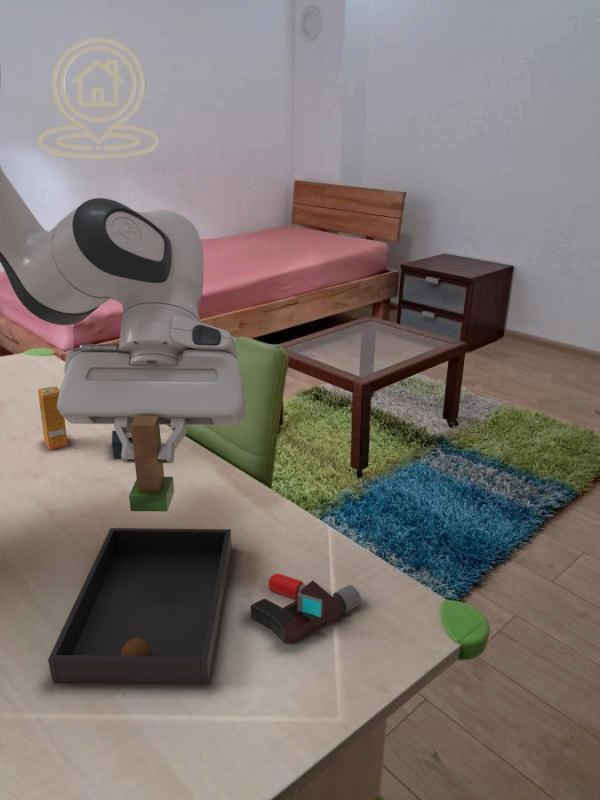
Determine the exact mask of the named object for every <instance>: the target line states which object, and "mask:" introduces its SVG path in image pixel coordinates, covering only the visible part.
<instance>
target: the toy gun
mask: <svg viewBox="0 0 600 800" xmlns="http://www.w3.org/2000/svg"><path fill="white" fill-rule="evenodd" d="M268 587H269V589H270V590H271V591H273V592H275V593H278V594H281V595H284V596H287V597H289V598H292V599H295V600H294V601H292V602H290V603H289V604H287V605H285V606H283V607H282V606H280V605H277V604H276V603H274V602H272V601H270V600H269V599H267V598H262V599H260V600H258V601H256V602H254V603H253V604H251V605H250V618H251V619H252V620H253V621H256V622H257V623H259V624H260V625H262V626H264V627H266V628H267V629H270V630H271V631H272V632H273V634H275V635H276V636H277V637H278V638H279V639H280V641H282V642H283V644H288V645H295V644H296V643H298V642H299V641H301V640H303V639H304V638H306V637H308V636H310V635H311V634H313V633H315V632H316V631H318V630H320V629H322V628H323V627H325V626H327V625H329V624H330V623H332V624H335V623H336V622H338V621H340V620H341V617H342V614H346V613H348V612H350V611H352V610H354V609H355V608H356V607H358V606H360V605H361V602H362V599H361V594H360V593H361V590H358V589H357V588H356V587H355V586H354V585H352V584H347V585H346V586H344V587H342V588H340V589H339V590H337V591H334V592H333V594H332V595H331V594H330V593H329V592H328V591H326V590H325V589H324V588H322V586H321V585H319V584H318V583H317V582H315V580H311V581H310V582H308V583H307V584H304V582H303V581H302V580H300V579H297V578H294V577H290V576H287V575H285V574H281V573H274V574H272V575H271V576H270V577H269V579H268Z"/></svg>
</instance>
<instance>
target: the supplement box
mask: <svg viewBox="0 0 600 800" xmlns="http://www.w3.org/2000/svg"><path fill="white" fill-rule="evenodd" d="M59 392H60V388H58V387H57V386H48V387H47V386H46V387H43V388H37V394H38V401H39V403H38V404H39V410H40V411H39V412H40V419H41V426H42V433H43V434H42V435H43V440H44V444H45V446H46V447H47V448H48V450H49V451H53V450H56V449H59V448H64V447H67V446H69V443H68V435H67V428H66V427H67V426H66V419H65V418H64V417H63V416H62V415H61V413H60V412H59V410H58V408H57V401H58V397H59Z"/></svg>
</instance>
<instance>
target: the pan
mask: <svg viewBox="0 0 600 800" xmlns="http://www.w3.org/2000/svg"><path fill="white" fill-rule="evenodd" d="M232 544H233V543H232V529H229V528H156V527H155V528H153V527H152V528H149V527H147V528H146V527H145V528H143V527H142V528H141V527H110V528H109V530H108V532H107V534H106V536H105V539H104V541H103V543H102V545H101V547H100V549H99V551H98V553H97V554H96V555H97V556H96V557H95V560H94V562H93V564H92V565H91V568H90V570H89V572H88V575H87V577H86V578H85V580H84V583H83V585H82V586H81V589H80V591H79V593H78V595H77V598H76V599H75V602H74V603H73V606H72V608H71V610H70V612H69V614H68V616H67V618H66V621H65V623H64V625H63V627H62V629H61V631H60V633H59V636H58V637H57V640H56V642H55V644H54V646H53V648H52V651H51V652H50V655H49V656H48V659H47V662H48V667H49V671H50V677H51V681H52V683H53V684H100V685H101V684H106V685H107V684H108V685H109V684H110V685H111V684H112V685H113V684H114V685H179V686H180V685H183V686H184V685H190V686H191V685H193V686H200V685H201V686H208V685H209V684H210V678H211V672H212V666H213V661H214V655H215V649H216V643H217V637H218V631H219V625H220V621H221V615H222V607H223V602H224V597H225V590H226V585H227V579H228V572H229V567H230V561H231V556H232V549H233V548H232ZM133 638H142V639H144V640H146V641H147V642H148V643H149V645H150V646H151V650H152V655H151V656H121V650H122V648H123V646H124V645H125V643H126V642H128V641H129V640H131V639H133Z"/></svg>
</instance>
